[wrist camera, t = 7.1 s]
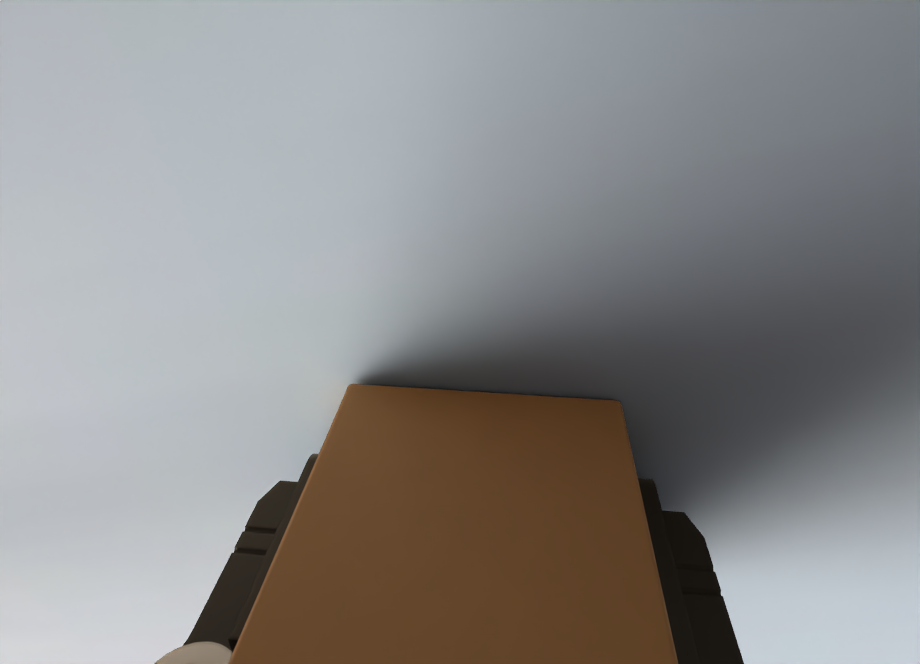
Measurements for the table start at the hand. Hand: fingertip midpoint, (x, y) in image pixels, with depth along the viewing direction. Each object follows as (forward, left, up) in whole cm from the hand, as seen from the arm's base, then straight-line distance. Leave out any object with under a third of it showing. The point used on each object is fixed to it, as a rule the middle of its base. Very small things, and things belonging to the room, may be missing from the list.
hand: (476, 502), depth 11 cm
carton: (0, 0, 0) cm, 0 cm away
